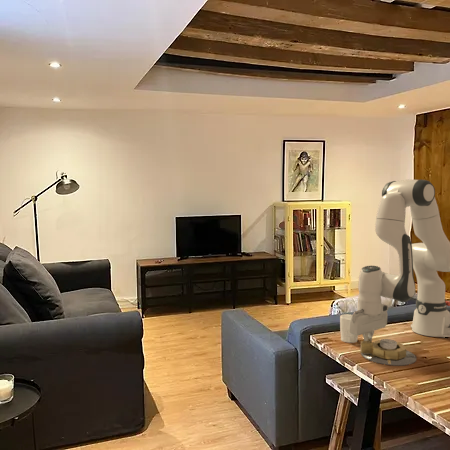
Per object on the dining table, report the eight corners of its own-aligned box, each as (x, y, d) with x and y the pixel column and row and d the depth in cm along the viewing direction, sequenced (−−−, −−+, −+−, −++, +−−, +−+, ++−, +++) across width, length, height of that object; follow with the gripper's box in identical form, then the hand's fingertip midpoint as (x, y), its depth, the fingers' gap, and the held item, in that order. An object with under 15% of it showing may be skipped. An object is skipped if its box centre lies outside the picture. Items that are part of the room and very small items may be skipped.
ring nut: (401, 348, 181) (401, 338, 181) (408, 360, 169) (408, 349, 169) (358, 346, 183) (359, 336, 183) (363, 357, 172) (363, 347, 171)
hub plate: (384, 343, 190) (385, 330, 189) (428, 359, 173) (428, 345, 172) (349, 352, 179) (349, 338, 179) (391, 369, 162) (392, 354, 162)
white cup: (359, 344, 189) (360, 320, 188) (339, 342, 190) (340, 318, 189) (358, 337, 196) (358, 314, 195) (338, 336, 198) (339, 313, 197)
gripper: (360, 313, 172) (358, 349, 173) (390, 305, 185) (389, 339, 186) (346, 309, 177) (344, 345, 178) (376, 302, 190) (375, 335, 191)
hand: (367, 342), depth 182 cm, fingers closed
